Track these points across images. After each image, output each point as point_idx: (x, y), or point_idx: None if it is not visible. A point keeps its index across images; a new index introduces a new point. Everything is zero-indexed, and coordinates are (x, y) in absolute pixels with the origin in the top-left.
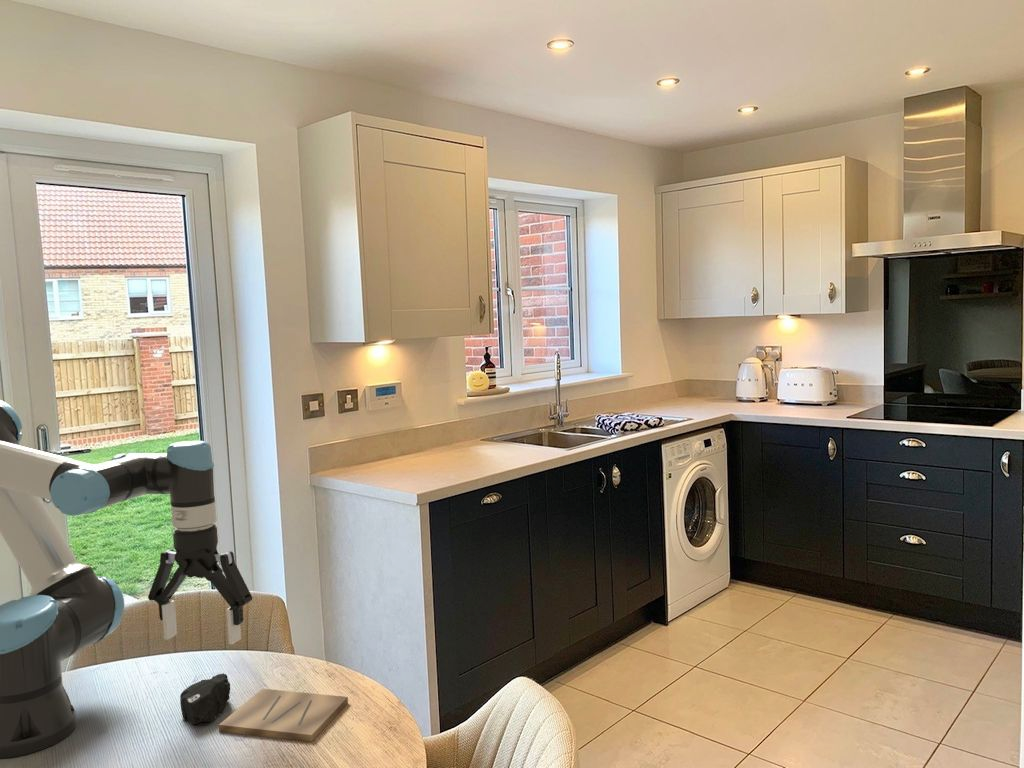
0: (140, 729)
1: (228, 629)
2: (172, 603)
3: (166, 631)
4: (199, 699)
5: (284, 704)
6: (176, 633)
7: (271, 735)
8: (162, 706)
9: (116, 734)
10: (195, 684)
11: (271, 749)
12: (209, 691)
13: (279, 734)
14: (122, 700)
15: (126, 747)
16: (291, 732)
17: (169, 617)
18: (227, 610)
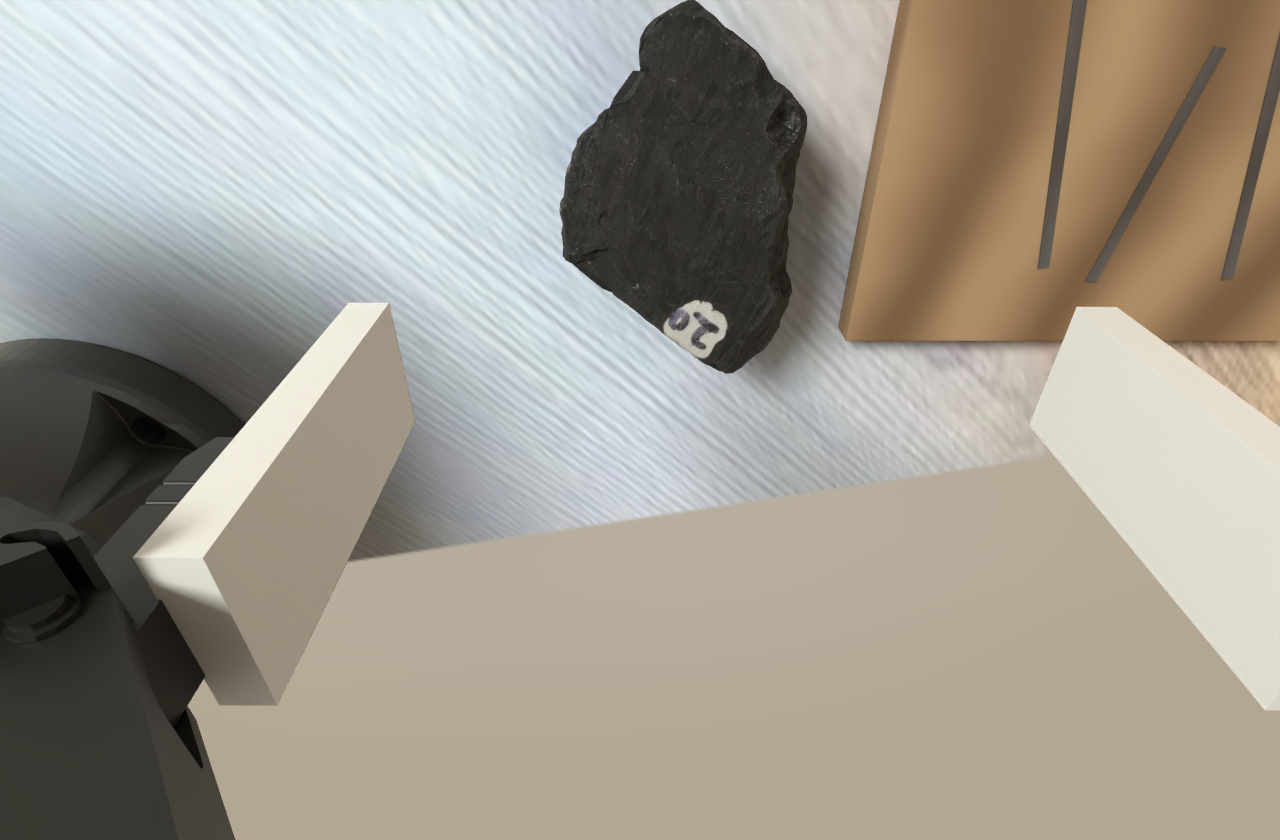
0: (496, 370)
1: (1106, 512)
2: (238, 579)
3: (386, 470)
4: (741, 346)
5: (1126, 98)
6: (388, 318)
7: None
8: (420, 174)
9: (435, 415)
10: (597, 179)
11: None
12: (766, 292)
13: None
14: (153, 156)
15: (548, 473)
16: (1194, 337)
17: (334, 516)
18: (1262, 693)
